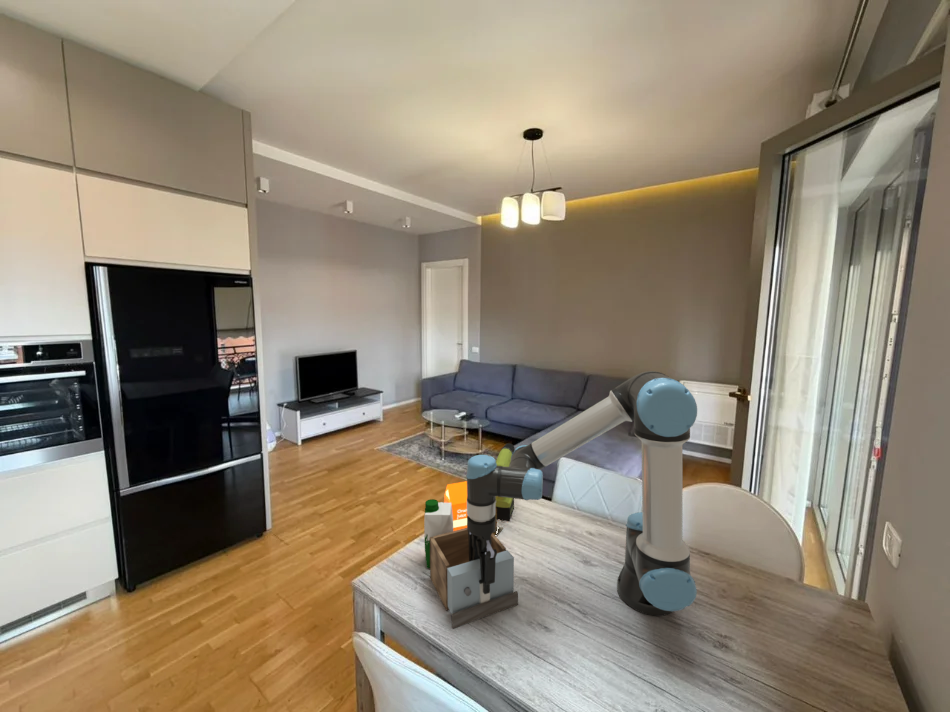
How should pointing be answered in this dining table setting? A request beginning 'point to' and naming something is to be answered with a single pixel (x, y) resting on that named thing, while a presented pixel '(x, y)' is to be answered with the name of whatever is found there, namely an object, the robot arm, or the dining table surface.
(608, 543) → the dining table surface
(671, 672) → the dining table surface
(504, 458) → the cordless drill
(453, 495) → the orange juice
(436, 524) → the milk carton
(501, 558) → the door
